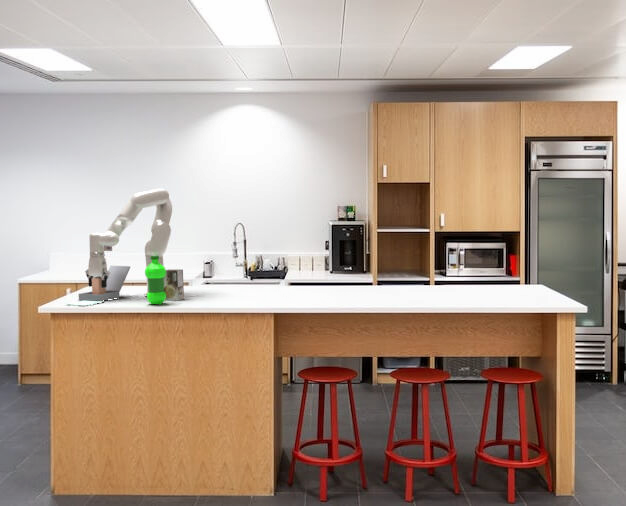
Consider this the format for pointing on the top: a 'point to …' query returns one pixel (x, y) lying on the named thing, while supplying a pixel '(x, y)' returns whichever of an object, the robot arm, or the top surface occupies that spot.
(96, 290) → the block
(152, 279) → the plastic bottle
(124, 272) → the case
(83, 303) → the mat
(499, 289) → the top surface
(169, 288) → the coffee box
